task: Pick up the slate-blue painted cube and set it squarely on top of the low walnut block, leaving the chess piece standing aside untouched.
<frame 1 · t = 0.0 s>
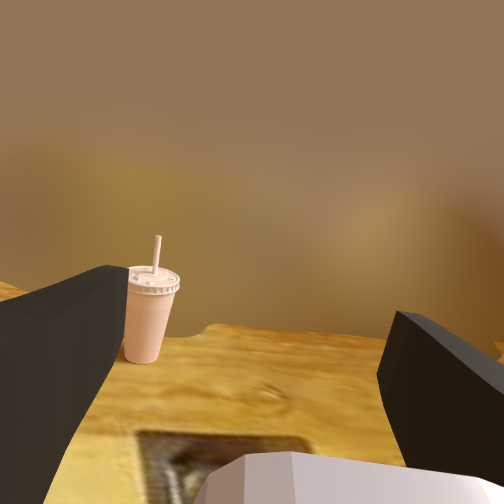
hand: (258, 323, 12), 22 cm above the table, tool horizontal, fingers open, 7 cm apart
smoothie: (141, 357, 51), on the table
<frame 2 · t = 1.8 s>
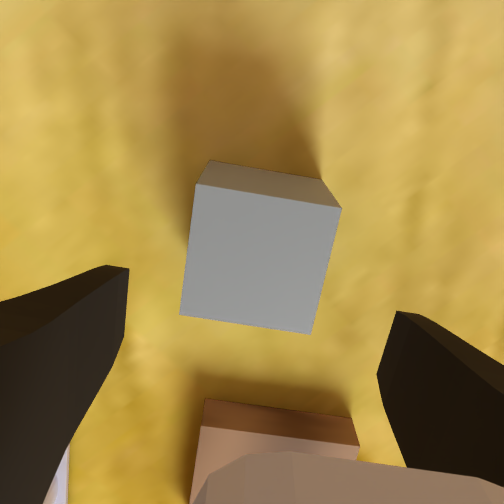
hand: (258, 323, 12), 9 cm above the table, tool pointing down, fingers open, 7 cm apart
slate cube: (256, 223, 21), on the table
walnut block: (266, 459, 26), on the table
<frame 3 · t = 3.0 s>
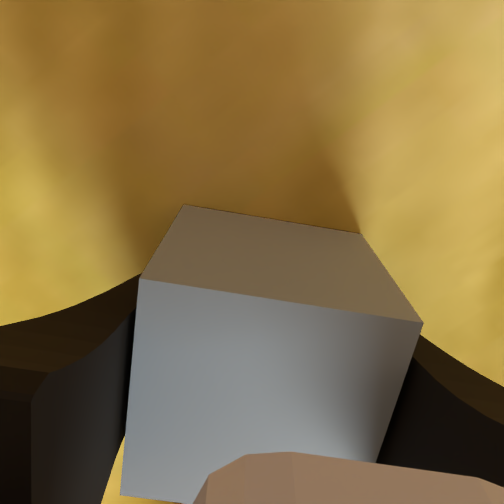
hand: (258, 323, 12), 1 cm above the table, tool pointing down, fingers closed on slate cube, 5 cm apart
slate cube: (257, 299, 13), on the table, touching gripper
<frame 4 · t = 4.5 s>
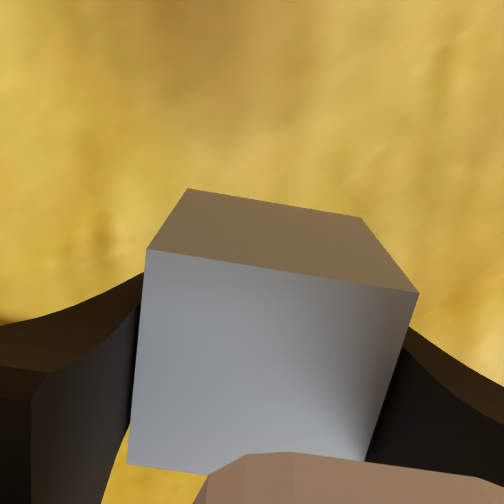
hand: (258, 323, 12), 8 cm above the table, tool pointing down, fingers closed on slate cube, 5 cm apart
slate cube: (259, 282, 14), point 6 cm above the table, touching gripper
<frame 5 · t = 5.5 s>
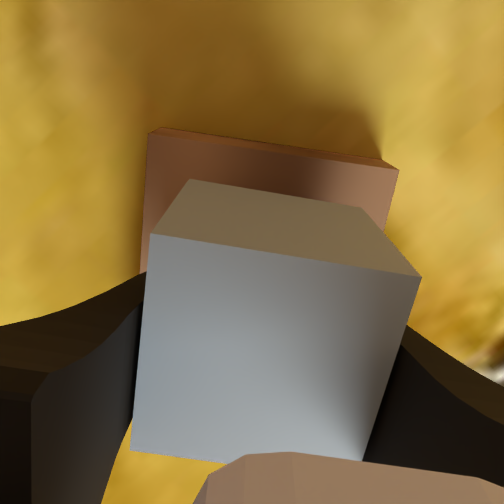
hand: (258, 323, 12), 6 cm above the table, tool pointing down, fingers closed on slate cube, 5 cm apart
slate cube: (261, 273, 14), point 4 cm above the table, touching gripper
walnut block: (256, 244, 18), on the table
when the fingers open (5 cm above the table, at t = 6.2 s): slate cube stays where it is, resting on walnut block.
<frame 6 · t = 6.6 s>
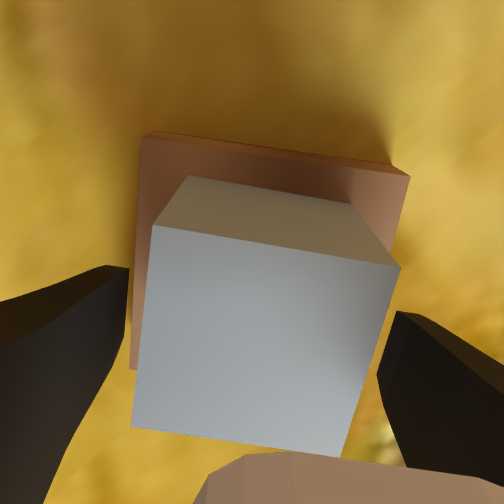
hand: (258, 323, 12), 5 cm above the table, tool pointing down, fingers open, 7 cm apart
slate cube: (255, 265, 14), point 2 cm above the table, touching walnut block
walnut block: (257, 253, 17), on the table, touching slate cube
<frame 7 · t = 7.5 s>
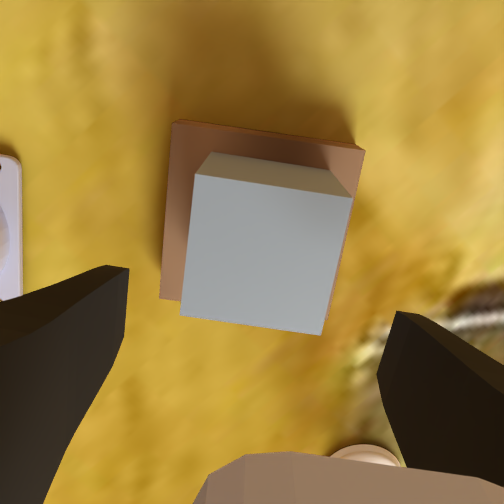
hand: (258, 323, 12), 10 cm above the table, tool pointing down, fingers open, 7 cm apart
slate cube: (261, 218, 20), point 2 cm above the table
walnut block: (256, 213, 22), on the table
chess piece: (359, 472, 28), on the table
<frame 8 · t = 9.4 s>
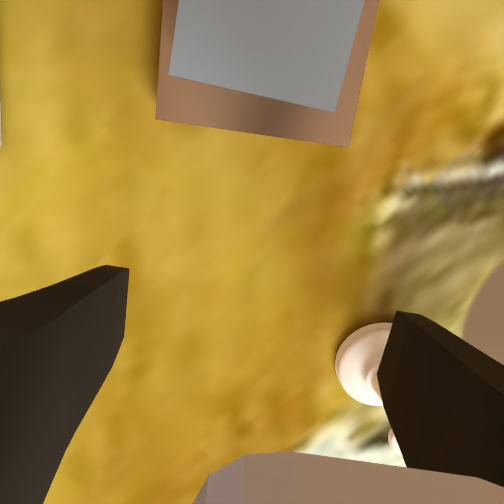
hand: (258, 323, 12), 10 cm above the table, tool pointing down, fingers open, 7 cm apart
slate cube: (267, 24, 17), point 2 cm above the table, touching walnut block
walnut block: (266, 33, 20), on the table, touching slate cube
chess piece: (379, 359, 25), on the table
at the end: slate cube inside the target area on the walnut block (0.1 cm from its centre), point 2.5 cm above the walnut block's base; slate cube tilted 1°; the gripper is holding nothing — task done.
